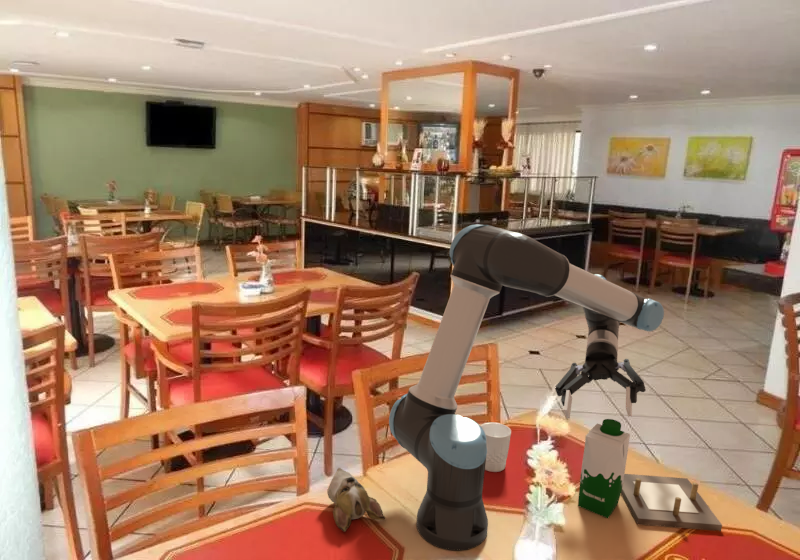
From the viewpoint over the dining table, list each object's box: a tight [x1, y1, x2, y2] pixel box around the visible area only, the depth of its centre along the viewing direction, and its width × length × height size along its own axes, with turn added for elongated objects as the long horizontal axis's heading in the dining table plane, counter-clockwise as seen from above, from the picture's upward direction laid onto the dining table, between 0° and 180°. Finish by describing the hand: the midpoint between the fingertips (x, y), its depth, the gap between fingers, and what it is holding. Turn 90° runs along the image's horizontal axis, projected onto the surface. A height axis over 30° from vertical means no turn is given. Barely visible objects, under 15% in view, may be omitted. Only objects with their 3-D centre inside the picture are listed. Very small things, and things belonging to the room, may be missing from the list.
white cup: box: [480, 421, 512, 473], centre depth 146 cm, size 8×8×10 cm
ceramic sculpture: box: [327, 467, 386, 533], centre depth 125 cm, size 11×9×15 cm
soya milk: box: [577, 418, 631, 519], centre depth 130 cm, size 9×9×20 cm
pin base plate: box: [621, 473, 723, 532], centre depth 134 cm, size 18×18×6 cm
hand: (596, 413), depth 130 cm, fingers open, 13 cm apart
